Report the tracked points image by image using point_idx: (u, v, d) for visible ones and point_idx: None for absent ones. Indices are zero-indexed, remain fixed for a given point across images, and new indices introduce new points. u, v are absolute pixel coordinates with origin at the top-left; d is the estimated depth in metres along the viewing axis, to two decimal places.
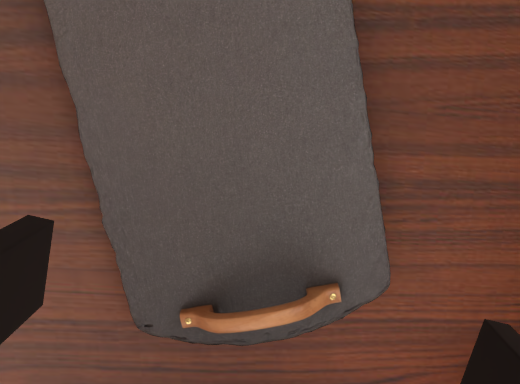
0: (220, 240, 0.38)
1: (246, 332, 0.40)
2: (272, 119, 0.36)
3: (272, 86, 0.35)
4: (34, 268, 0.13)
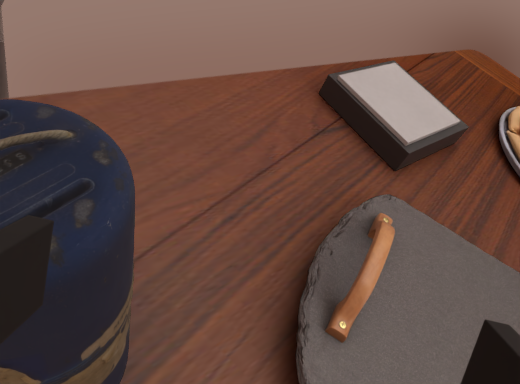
0: None
1: None
2: None
3: (508, 321, 0.39)
4: (34, 268, 0.13)
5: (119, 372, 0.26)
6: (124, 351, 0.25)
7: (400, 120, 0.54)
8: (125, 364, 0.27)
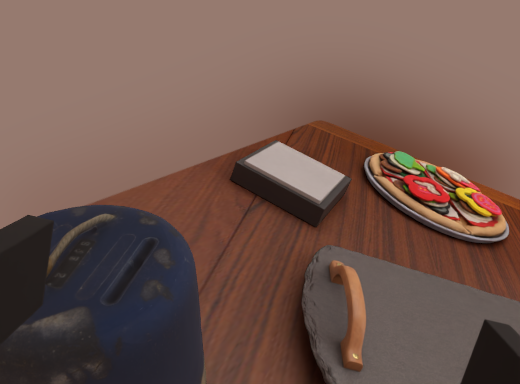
0: None
1: None
2: (473, 324, 0.49)
3: (451, 315, 0.49)
4: (34, 268, 0.13)
5: None
6: None
7: (306, 185, 0.64)
8: None
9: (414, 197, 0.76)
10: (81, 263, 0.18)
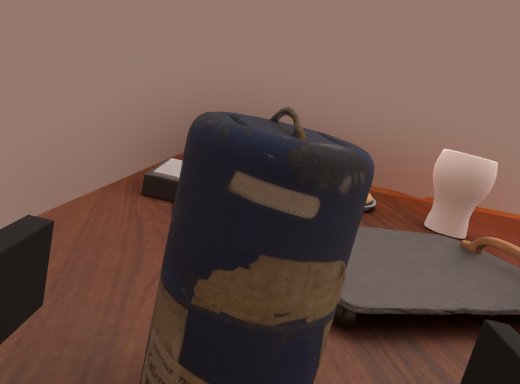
0: (482, 271, 0.57)
1: None
2: (395, 246, 0.59)
3: (377, 244, 0.58)
4: (34, 268, 0.13)
5: None
6: None
7: None
8: None
9: None
10: None
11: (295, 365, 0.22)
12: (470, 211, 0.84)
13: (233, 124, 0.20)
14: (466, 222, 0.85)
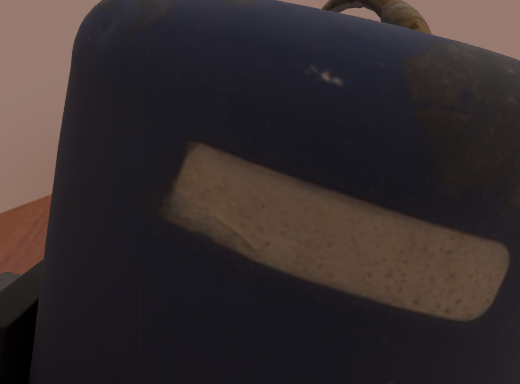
0: None
1: None
2: None
3: None
4: None
5: None
6: None
7: None
8: None
9: None
10: None
11: None
12: None
13: None
14: None
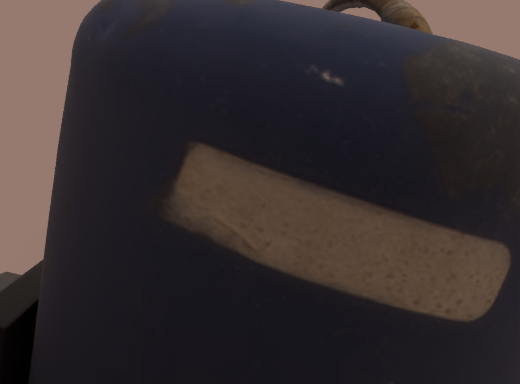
0: None
1: None
2: None
3: None
4: None
5: None
6: None
7: None
8: None
9: None
10: None
11: None
12: None
13: None
14: None
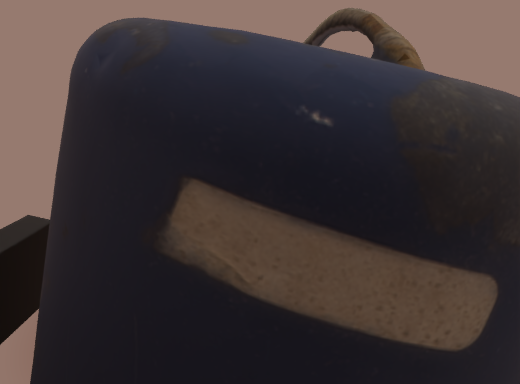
0: None
1: None
2: None
3: None
4: (34, 268, 0.13)
5: None
6: None
7: None
8: None
9: None
10: None
11: None
12: None
13: (185, 23, 0.06)
14: None
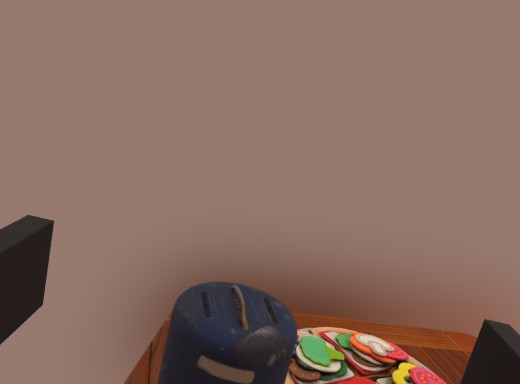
0: None
1: None
2: None
3: None
4: (34, 268, 0.13)
5: None
6: None
7: None
8: None
9: None
10: (245, 308, 0.34)
11: None
12: None
13: (200, 319, 0.31)
14: None
